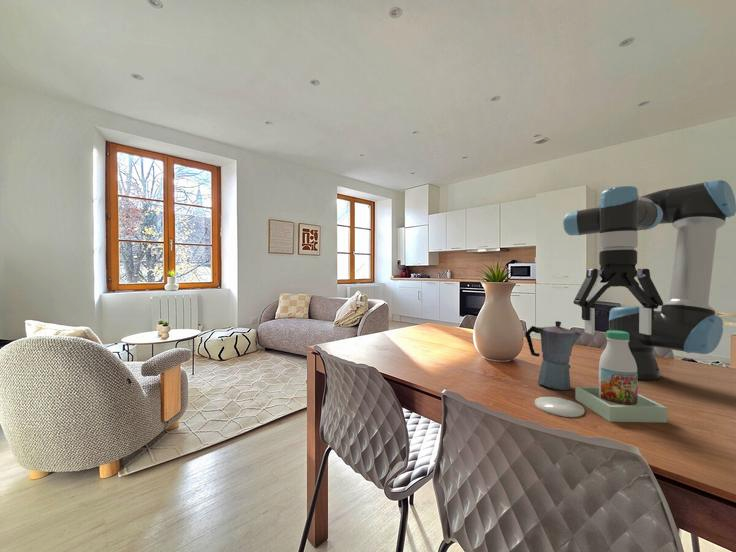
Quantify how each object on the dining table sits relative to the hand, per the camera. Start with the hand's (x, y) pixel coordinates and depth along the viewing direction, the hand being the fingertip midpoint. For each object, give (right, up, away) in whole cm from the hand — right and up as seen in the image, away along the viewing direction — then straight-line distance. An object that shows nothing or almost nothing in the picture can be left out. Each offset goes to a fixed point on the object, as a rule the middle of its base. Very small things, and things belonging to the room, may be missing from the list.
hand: (617, 333), depth 79 cm
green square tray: (0, -19, 0) cm, 19 cm away
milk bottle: (0, -20, 0) cm, 20 cm away
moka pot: (-6, -20, +18) cm, 27 cm away
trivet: (-14, -20, +2) cm, 24 cm away
